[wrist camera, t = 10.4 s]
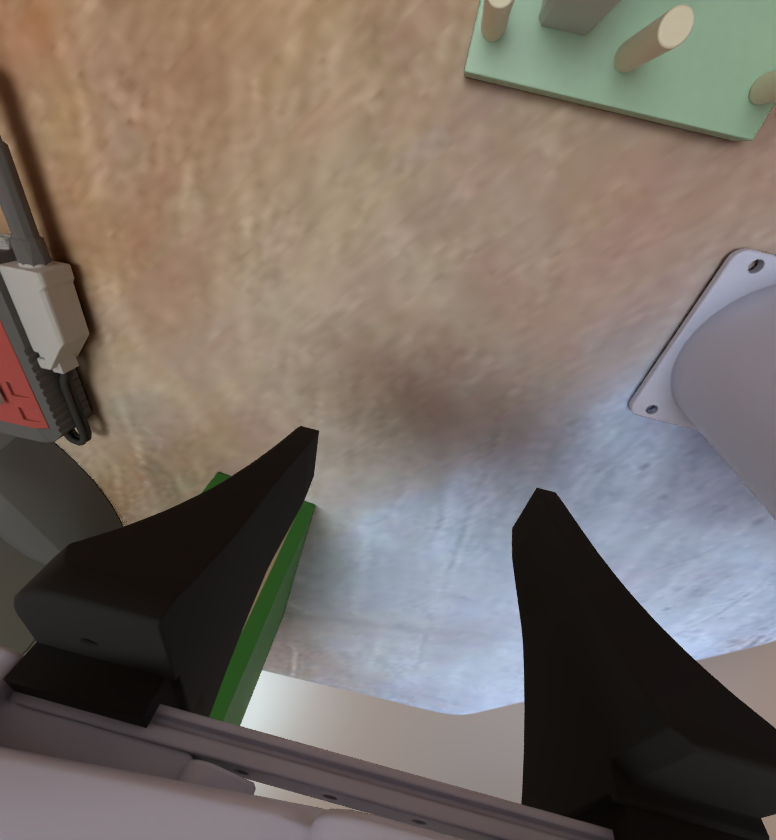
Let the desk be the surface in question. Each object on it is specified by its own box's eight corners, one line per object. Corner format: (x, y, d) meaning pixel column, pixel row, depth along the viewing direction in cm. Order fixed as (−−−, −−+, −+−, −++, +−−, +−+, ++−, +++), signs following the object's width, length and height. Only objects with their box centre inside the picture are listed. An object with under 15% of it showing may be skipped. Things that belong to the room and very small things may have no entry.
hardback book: (217, 471, 28) (-357, 1207, 8) (315, 505, 28) (-21, 1290, 9) (210, 594, 38) (-57, 1056, 19) (282, 617, 38) (93, 1096, 19)
